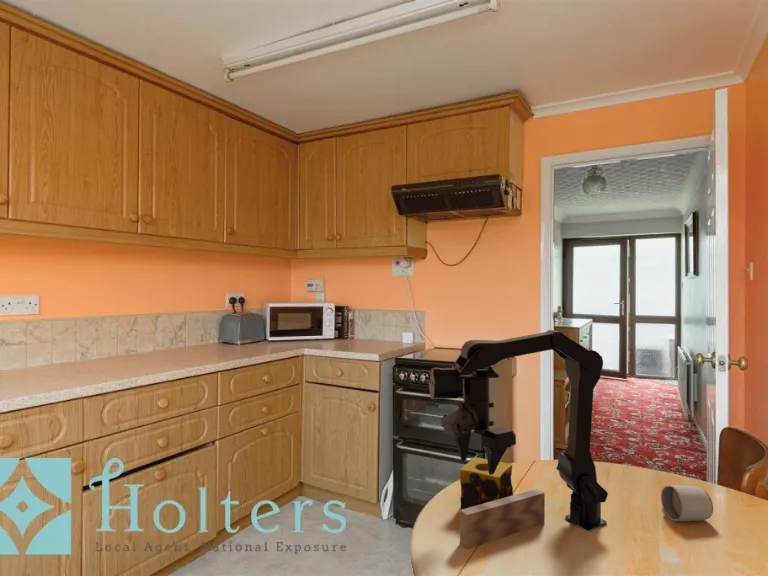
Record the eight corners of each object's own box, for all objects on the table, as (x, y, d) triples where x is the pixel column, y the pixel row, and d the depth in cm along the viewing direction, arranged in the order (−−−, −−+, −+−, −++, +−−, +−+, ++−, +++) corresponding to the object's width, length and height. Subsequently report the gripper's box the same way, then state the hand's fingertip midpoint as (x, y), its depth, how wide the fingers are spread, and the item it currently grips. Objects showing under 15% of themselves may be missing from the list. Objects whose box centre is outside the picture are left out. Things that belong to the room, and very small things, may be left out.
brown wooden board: (536, 518, 110) (536, 488, 110) (544, 523, 108) (544, 492, 108) (459, 543, 100) (459, 510, 100) (467, 548, 98) (466, 515, 98)
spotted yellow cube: (513, 503, 118) (513, 463, 118) (500, 521, 110) (500, 477, 110) (475, 494, 124) (475, 455, 124) (459, 509, 115) (459, 468, 115)
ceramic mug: (716, 526, 107) (716, 491, 107) (682, 527, 106) (681, 493, 106) (682, 505, 117) (682, 473, 118) (651, 506, 117) (651, 475, 117)
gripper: (422, 393, 110) (423, 460, 110) (476, 412, 94) (477, 490, 94) (460, 388, 116) (461, 452, 116) (517, 404, 100) (518, 478, 100)
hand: (476, 467), depth 106 cm, fingers open, 9 cm apart
